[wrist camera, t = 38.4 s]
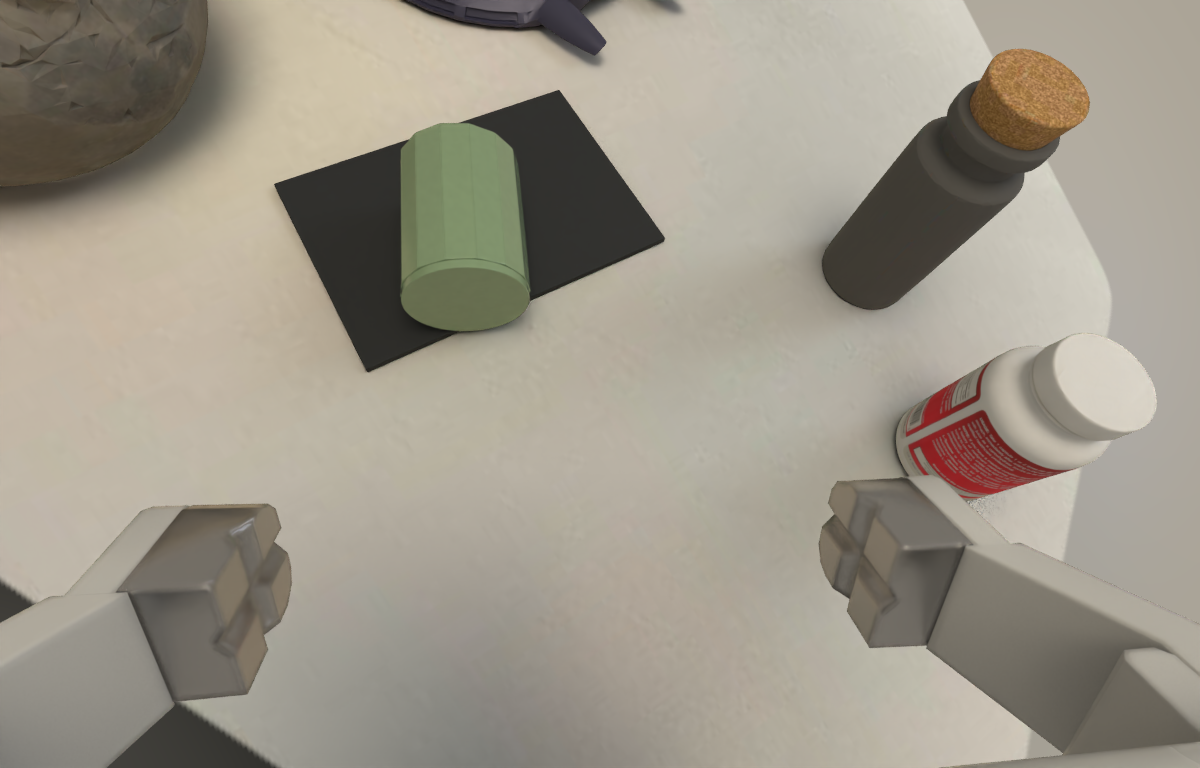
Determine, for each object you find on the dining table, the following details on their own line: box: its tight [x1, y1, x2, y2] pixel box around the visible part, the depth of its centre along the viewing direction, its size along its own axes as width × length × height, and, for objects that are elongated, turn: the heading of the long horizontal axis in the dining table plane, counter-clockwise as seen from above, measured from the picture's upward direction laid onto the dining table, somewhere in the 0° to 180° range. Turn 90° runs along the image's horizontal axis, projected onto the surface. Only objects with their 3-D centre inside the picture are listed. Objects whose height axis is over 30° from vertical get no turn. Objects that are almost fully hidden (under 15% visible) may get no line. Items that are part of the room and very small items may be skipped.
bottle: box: [823, 49, 1090, 309], centre depth 33 cm, size 6×6×15 cm
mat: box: [274, 90, 665, 372], centre depth 38 cm, size 20×14×1 cm
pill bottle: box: [896, 333, 1157, 501], centre depth 31 cm, size 6×6×11 cm
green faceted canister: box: [399, 123, 530, 331], centre depth 33 cm, size 7×7×9 cm
